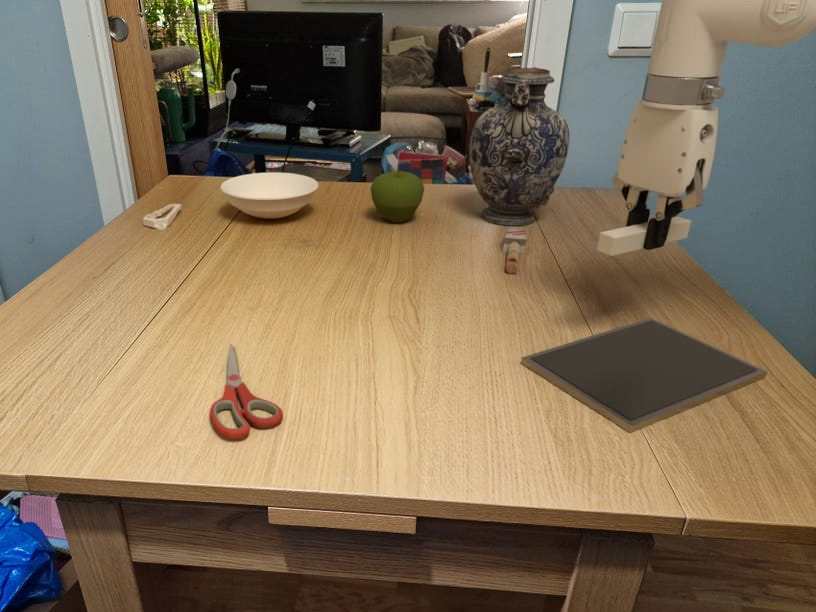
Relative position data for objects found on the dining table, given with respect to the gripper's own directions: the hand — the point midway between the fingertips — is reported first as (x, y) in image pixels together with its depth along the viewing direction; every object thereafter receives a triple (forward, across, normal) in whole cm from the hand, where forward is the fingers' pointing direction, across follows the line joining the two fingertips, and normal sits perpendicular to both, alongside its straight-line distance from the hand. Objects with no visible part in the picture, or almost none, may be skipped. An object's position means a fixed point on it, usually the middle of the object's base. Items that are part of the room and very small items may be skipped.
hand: (643, 243), depth 85 cm
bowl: (+12, +71, +23) cm, 76 cm away
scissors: (+13, +11, +54) cm, 56 cm away
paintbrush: (+13, +31, -7) cm, 34 cm away
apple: (+13, +56, +2) cm, 58 cm away
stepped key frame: (+12, +78, +44) cm, 91 cm away
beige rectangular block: (0, 0, 0) cm, 0 cm away
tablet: (+13, -9, +6) cm, 17 cm away
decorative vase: (+13, +47, -20) cm, 52 cm away
